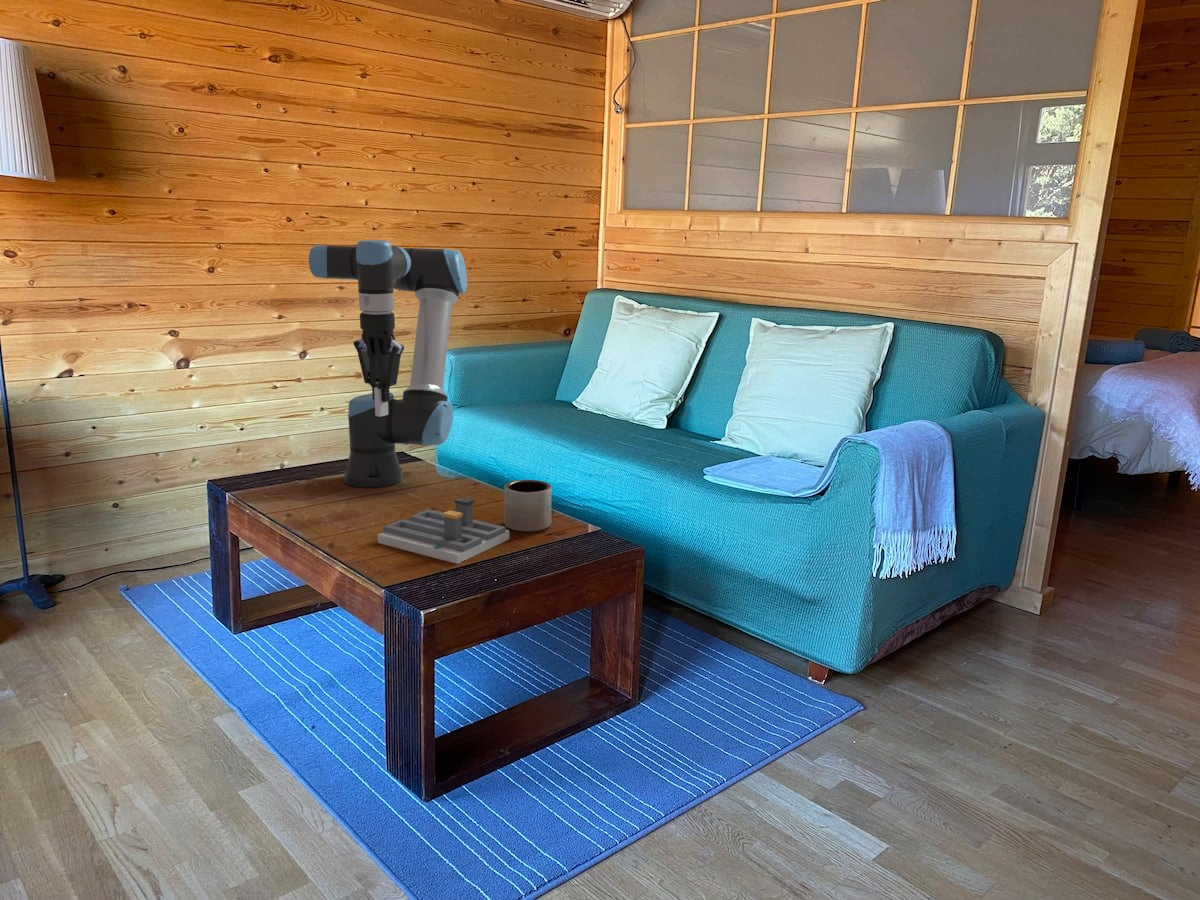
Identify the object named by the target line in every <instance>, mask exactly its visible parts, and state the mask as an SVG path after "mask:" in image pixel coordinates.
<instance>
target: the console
mask: <svg viewBox="0 0 1200 900" xmlns="http://www.w3.org/2000/svg"><path fill="white" fill-rule="evenodd" d="M443 513H444V512H443V511H437V510H433V509H430V508H429V509H426V510H423V511H421V512H417V513H415V514H413V515H410V517H409V519H410V520H409V519H404V518H403V519H400V520H397V521H394V522H392V523H390V524H387V525H384V526H383V532H380V533H378V534H377V544H381V545H384V546H388V547H392V548H395V549H400V550H403V551H407V552H411V553H415V554H419V555H423V556H427V557H430V558H434V559H438V560H442V561H445V562H449V563H453V564H460V563H463V562H465V561H468V559H471V558H473V557H475V556H476V555H477V556H478V555H479V554H482V553H483V552H485V551H487V550H489V549H492V548H494V547H496V546H498V545H500V544H502V543H504V542H506V541H508V540H510V529H509V530H508V529H506V528H507V527H506V526H502V525H497V524H495V523H494V524H493V523H489V522H485V521H481V520H476V519H473V524H475V528H470V527H466V526H462V525H461V532H462V538H464V542H462V543H461V542H457V541H453V540H449V539H445V538H442V537H444V516H443ZM464 560H465V561H464ZM462 561H463V562H462Z"/></svg>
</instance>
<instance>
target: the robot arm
mask: <svg viewBox="0 0 1200 900" xmlns="http://www.w3.org/2000/svg"><path fill="white" fill-rule="evenodd" d="M465 262H466V261H465V259H464V257H463V255H462V253H461V252H460V251H459V250H458V249H457V250H456V249H448V248H419V247H418V248H417V247H416V248H415V247H400V246H397V245H392V244H391V242H390V241H388V240H384V239H383V240H382V239H365V240H359V241H358V242H357V244H356V245H354V246H353V245H336V244H335V245H332V244H330V245H328V244H322V245H321V244H319V245H318V244H317V245H314V246H312V247H311V249H310V251H309V254H308V267H309V270H310V271H309V272H310V273H311V274H312V276H313V277H315V278H318V279H325V280H329V279H331V280H333V279H335V280H336V279H337V280H338V279H339V280H351V281H357V286H358V291H357V292H358V301H359V302H358V305H359V311H361V312H360V313H359V328H360V330H361V331H362V333H361V338H360V339H358V340H355V341H353V346H354V348H355V350H356V352H357V355H358V361H359V364H360V369H361V372H362V373H361V374H362V376H363V377H362V378H363V381H364V384H367V385H370V386H371V393H366V394H362V395H358V396H355V397H353V398H351V399H350V400H349V402H348V414H347V417H348V434H349V457H348V459H347V464H346V469H345V470H344V482H345V484H347V485H349V486H353V487H356V488H357V487H358V488H381V487H388V486H394V485H396V484H399V483H400V482H402V480H403V479H404V478H403V477H404V475H403V469H402V467H401V466H400V461H399V459H398V456H397V453H396V444H400V445H417V446H419V445H421V446H425V447H428V446H440V445H442V444H444V443H445V442H446V440H447V439H448V437H449V435H450V433H451V431H452V427H453V421H454V415H453V414H454V406H453V404H452V403H451V402H450V401H448V398H449V397H448V395H447V394H446V392H445V391H444V381H445V372H446V365H447V364H446V363H447V362H446V361H447V353H448V346H449V345H448V344H449V335H450V325H451V316H452V307H453V306H454V305H455V304H457V302H459V296H460V295H462V294H464V293H466V292H467V289H468V288H467V287H468V277H467V267H466V263H465ZM394 290H399V291H403V292H414V296H415V298H416V299H417V300H418V301H419V307H418V313H417V314H418V315H417V322H416V323H417V324H416V331H415V339H414V348H413V358H412V367H411V374H410V382H409V383H410V384H409V387H407V388H406V389H404V390H403V391H402V392H403V393H402V398H401V399H395V395H394V393H392V392H390V388H391V387H392V386H396V385H397V384H398V383H397V382H398V376H399V369H400V364H401V363H400V362H401V358H402V357H401V356H402V353H403V352H404V349H405V346H404V344H400V343H398V342H397V341H396V337H395V334H394V329H395V328H396V323H395V322H396V318H395V313H394V312H393V311H394V310H395V300H394V298H395V296H394Z"/></svg>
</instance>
